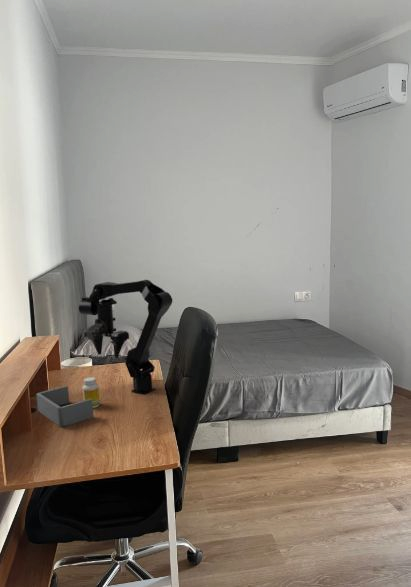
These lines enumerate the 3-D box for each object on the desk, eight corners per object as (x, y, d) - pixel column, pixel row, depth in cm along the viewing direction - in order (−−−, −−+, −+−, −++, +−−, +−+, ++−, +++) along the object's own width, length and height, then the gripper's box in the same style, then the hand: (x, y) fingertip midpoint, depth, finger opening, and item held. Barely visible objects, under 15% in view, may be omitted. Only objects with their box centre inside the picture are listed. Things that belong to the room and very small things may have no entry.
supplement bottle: (81, 406, 168) (78, 379, 167) (95, 401, 171) (93, 375, 170) (88, 410, 164) (85, 382, 163) (102, 405, 167) (100, 378, 166)
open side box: (68, 401, 173) (66, 385, 172) (93, 417, 157) (91, 399, 156) (37, 410, 166) (35, 393, 165) (60, 427, 150) (58, 408, 150)
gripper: (71, 317, 182) (75, 358, 185) (106, 322, 172) (109, 365, 174) (94, 312, 191) (97, 351, 194) (128, 316, 180) (131, 357, 183)
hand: (107, 356), depth 186 cm, fingers open, 9 cm apart
